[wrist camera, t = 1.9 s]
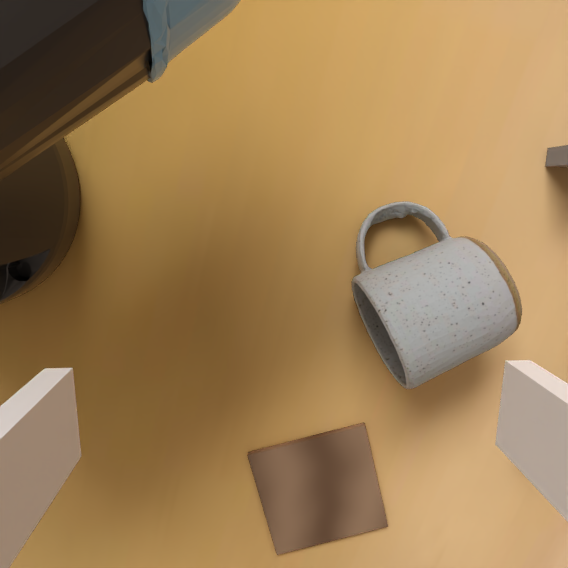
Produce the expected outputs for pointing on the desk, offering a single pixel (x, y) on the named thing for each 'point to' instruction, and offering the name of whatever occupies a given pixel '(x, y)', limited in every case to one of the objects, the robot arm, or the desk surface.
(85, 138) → the desk surface
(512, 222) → the desk surface
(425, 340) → the ceramic mug
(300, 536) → the walnut coaster
